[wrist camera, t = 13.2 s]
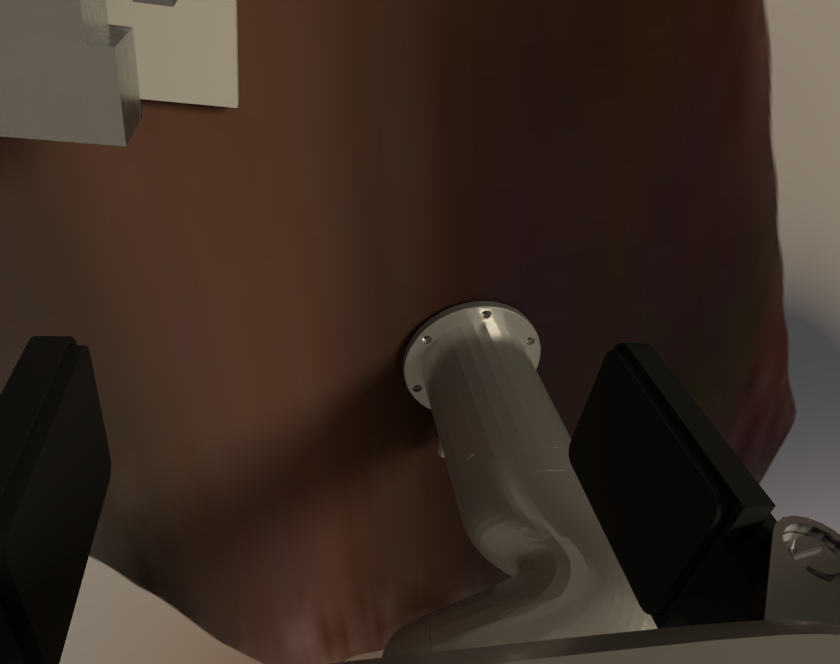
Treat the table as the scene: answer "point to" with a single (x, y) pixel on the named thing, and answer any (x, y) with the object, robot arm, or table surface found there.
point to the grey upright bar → (67, 73)
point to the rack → (183, 48)
